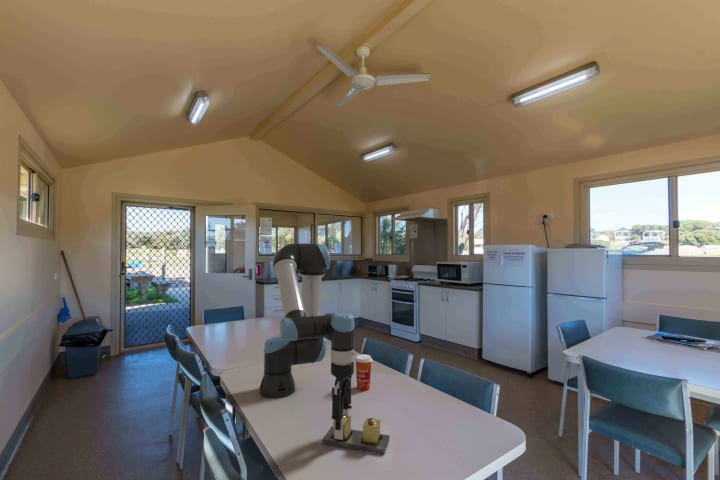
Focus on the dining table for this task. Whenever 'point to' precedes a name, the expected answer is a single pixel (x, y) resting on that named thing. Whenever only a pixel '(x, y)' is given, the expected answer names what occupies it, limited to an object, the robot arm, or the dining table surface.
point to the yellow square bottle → (345, 427)
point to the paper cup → (363, 372)
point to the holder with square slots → (362, 438)
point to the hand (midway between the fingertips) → (341, 433)
